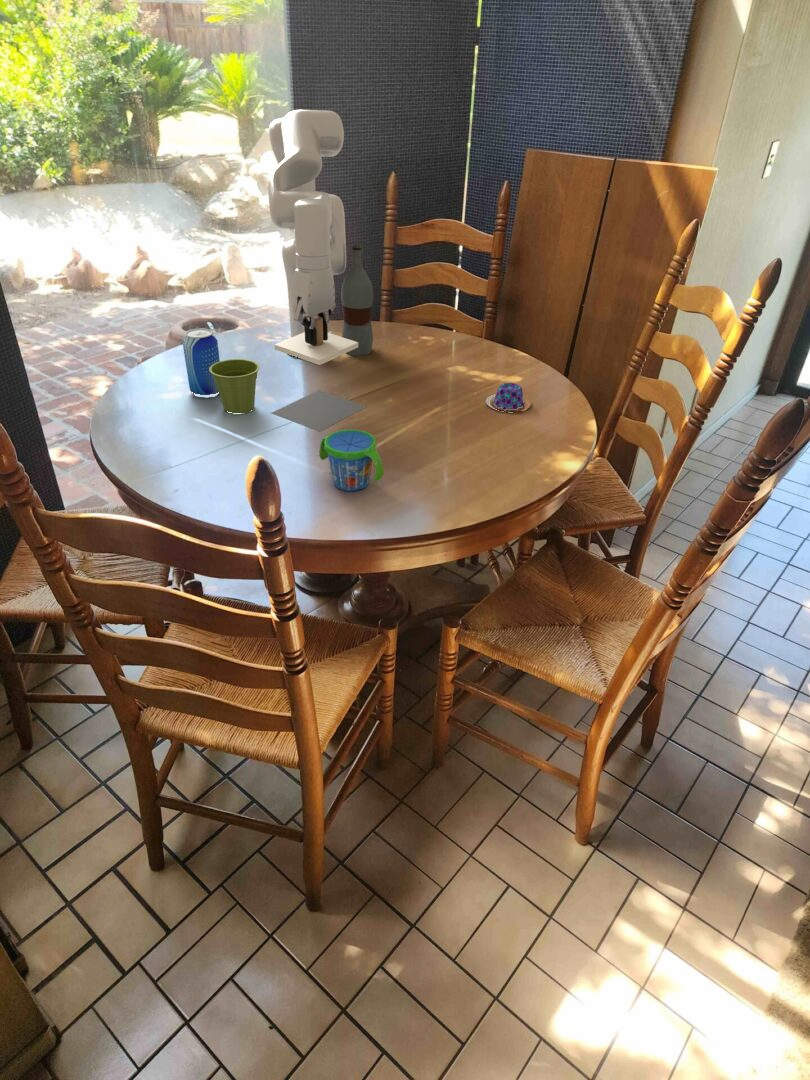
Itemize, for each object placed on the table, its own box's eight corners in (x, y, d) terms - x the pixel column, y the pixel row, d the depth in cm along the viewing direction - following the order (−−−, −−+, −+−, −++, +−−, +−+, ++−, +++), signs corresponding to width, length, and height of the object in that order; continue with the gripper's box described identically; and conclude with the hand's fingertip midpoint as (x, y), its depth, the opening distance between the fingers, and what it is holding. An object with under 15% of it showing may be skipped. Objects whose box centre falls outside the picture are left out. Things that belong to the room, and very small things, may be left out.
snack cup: (307, 478, 150) (305, 435, 144) (344, 461, 156) (343, 420, 150) (358, 507, 141) (358, 463, 135) (394, 488, 148) (395, 445, 142)
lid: (314, 332, 175) (313, 304, 171) (358, 347, 169) (358, 317, 164) (274, 349, 166) (272, 319, 161) (319, 365, 160) (318, 334, 155)
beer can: (205, 402, 178) (196, 341, 169) (183, 393, 182) (174, 332, 173) (230, 392, 184) (223, 332, 175) (209, 383, 188) (201, 324, 179)
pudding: (479, 409, 181) (481, 390, 178) (492, 392, 190) (494, 374, 187) (525, 418, 178) (528, 399, 175) (536, 400, 187) (538, 382, 184)
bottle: (378, 349, 212) (380, 245, 195) (361, 359, 206) (361, 251, 189) (353, 343, 216) (352, 240, 199) (335, 351, 210) (333, 246, 192)
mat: (319, 392, 186) (319, 390, 186) (366, 408, 179) (366, 406, 178) (271, 415, 174) (270, 412, 173) (320, 433, 167) (319, 431, 166)
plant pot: (271, 404, 179) (267, 361, 172) (250, 424, 170) (245, 379, 163) (228, 397, 181) (223, 355, 175) (206, 416, 172) (199, 373, 165)
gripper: (324, 250, 162) (327, 328, 173) (274, 265, 151) (280, 347, 163) (350, 256, 159) (350, 335, 170) (300, 272, 148) (305, 355, 159)
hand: (316, 340), depth 166 cm, fingers closed on lid, 3 cm apart
